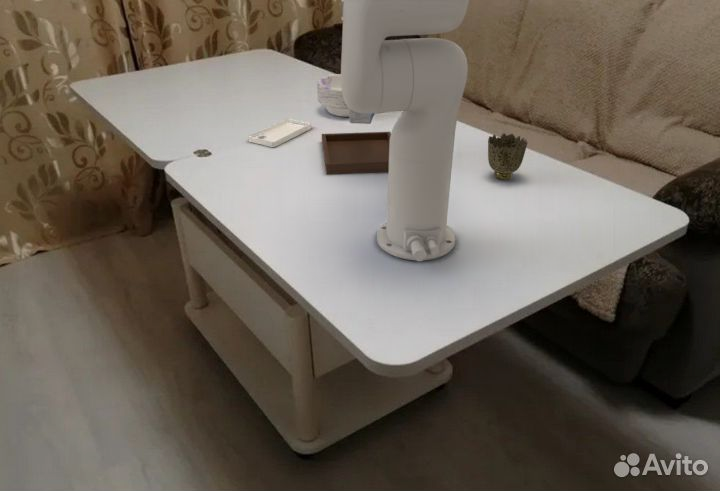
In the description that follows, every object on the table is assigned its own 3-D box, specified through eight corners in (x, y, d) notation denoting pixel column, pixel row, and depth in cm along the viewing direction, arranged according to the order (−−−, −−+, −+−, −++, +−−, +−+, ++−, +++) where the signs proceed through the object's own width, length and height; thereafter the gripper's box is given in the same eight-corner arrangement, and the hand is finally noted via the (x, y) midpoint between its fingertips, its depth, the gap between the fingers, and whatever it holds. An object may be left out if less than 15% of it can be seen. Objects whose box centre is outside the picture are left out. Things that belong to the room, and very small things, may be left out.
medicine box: (370, 124, 120) (370, 81, 115) (348, 123, 120) (348, 80, 116) (375, 112, 126) (375, 71, 122) (354, 111, 127) (354, 70, 123)
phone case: (273, 147, 132) (312, 128, 143) (273, 142, 131) (312, 122, 142) (248, 141, 135) (287, 123, 146) (247, 136, 134) (287, 117, 145)
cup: (493, 187, 114) (499, 148, 110) (477, 172, 120) (481, 134, 116) (528, 183, 116) (534, 144, 112) (510, 168, 122) (515, 131, 118)
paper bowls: (385, 116, 150) (386, 85, 146) (329, 124, 146) (328, 91, 142) (363, 100, 163) (363, 70, 159) (310, 106, 158) (309, 76, 154)
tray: (403, 171, 121) (403, 161, 120) (326, 174, 119) (326, 164, 118) (389, 140, 136) (390, 131, 135) (321, 143, 134) (321, 133, 133)
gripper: (387, 19, 106) (384, 113, 114) (374, 3, 120) (373, 88, 129) (345, 20, 105) (346, 115, 114) (337, 4, 120) (338, 89, 129)
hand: (360, 100), depth 121 cm, fingers closed on medicine box, 8 cm apart
